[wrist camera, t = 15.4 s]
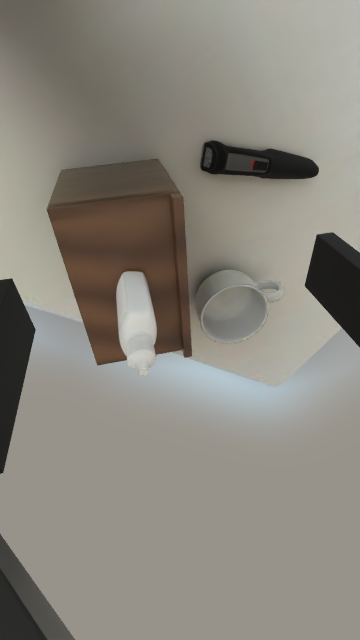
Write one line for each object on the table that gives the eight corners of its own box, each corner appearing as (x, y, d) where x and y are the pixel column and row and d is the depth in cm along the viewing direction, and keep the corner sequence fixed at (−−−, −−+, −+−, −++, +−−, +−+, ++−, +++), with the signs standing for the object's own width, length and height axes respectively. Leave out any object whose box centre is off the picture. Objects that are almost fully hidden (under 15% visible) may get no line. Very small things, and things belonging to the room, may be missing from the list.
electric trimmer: (301, 182, 46) (313, 188, 44) (199, 170, 42) (205, 177, 40) (312, 153, 44) (324, 158, 41) (204, 138, 40) (211, 142, 38)
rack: (61, 169, 39) (44, 215, 27) (158, 158, 40) (183, 197, 28) (97, 303, 52) (97, 374, 40) (171, 291, 53) (192, 356, 41)
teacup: (194, 321, 58) (206, 351, 52) (184, 270, 51) (196, 298, 45) (268, 301, 58) (288, 328, 52) (268, 247, 52) (291, 272, 45)
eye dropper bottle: (101, 302, 35) (101, 386, 26) (128, 262, 33) (139, 339, 24) (135, 317, 37) (146, 400, 28) (162, 281, 35) (185, 358, 26)
